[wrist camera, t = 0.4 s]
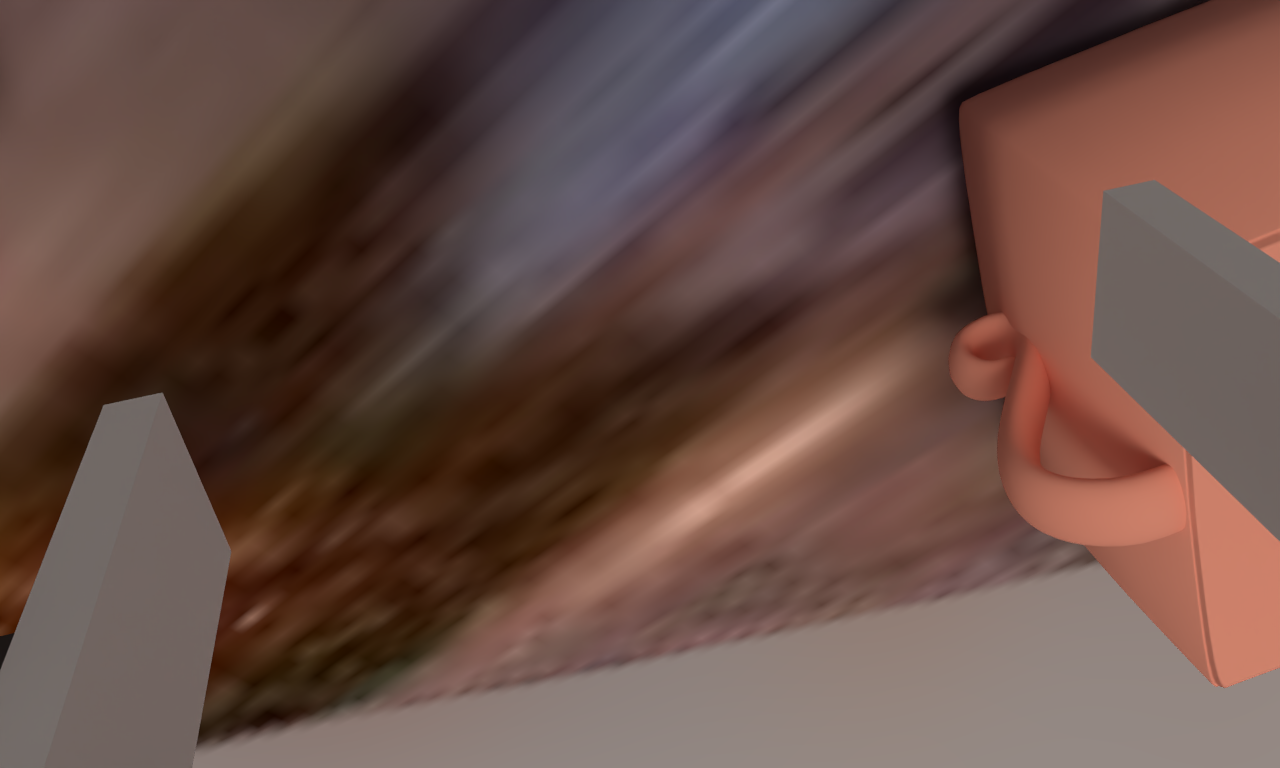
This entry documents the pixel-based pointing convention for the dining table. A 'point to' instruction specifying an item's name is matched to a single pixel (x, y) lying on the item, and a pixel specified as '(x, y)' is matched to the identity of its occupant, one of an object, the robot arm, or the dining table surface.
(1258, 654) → the teapot
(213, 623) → the robot arm
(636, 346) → the dining table surface
